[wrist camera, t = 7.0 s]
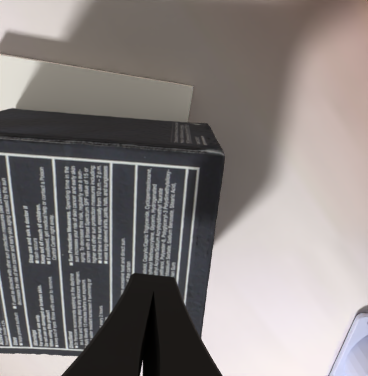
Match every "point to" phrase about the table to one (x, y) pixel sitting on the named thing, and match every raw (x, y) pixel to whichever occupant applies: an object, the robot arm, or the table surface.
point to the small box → (99, 220)
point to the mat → (89, 91)
